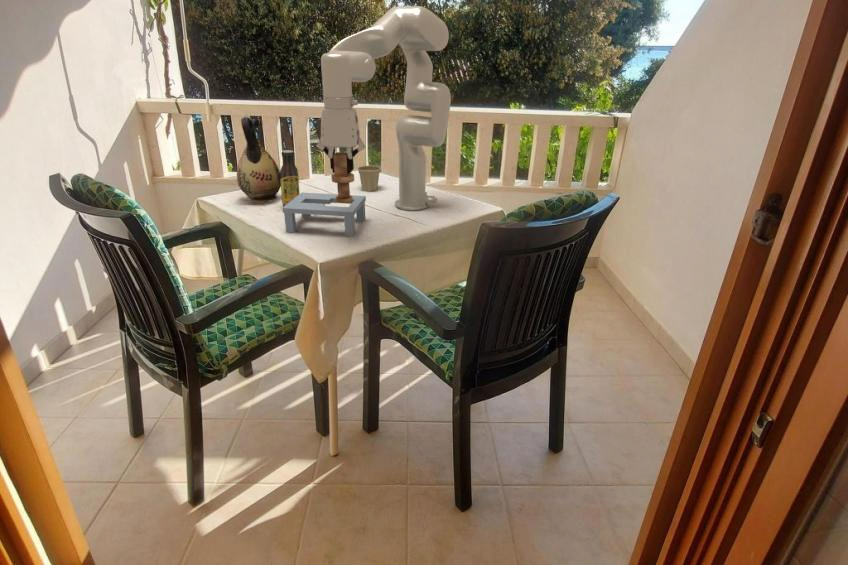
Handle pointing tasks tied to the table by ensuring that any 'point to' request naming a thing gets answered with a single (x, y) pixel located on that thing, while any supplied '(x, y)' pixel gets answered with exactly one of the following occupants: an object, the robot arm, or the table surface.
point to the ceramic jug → (257, 167)
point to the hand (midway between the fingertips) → (342, 171)
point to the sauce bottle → (289, 178)
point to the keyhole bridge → (324, 210)
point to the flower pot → (369, 177)
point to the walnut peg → (342, 177)
